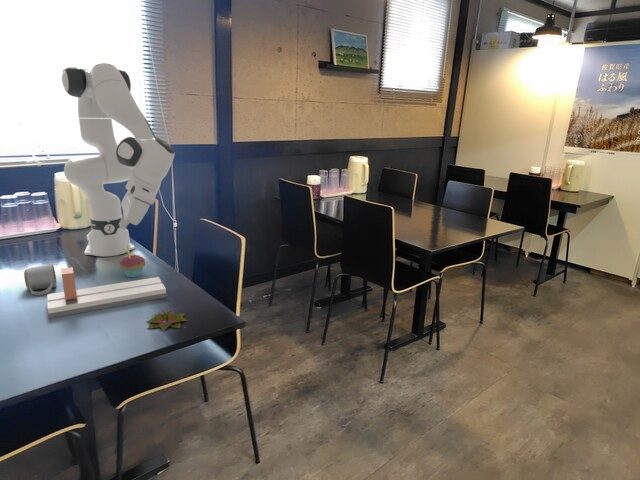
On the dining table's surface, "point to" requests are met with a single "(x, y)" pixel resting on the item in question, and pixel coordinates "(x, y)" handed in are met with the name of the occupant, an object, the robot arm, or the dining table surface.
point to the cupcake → (132, 264)
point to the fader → (69, 283)
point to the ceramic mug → (40, 279)
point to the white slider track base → (105, 297)
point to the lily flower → (166, 316)
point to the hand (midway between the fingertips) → (121, 227)
